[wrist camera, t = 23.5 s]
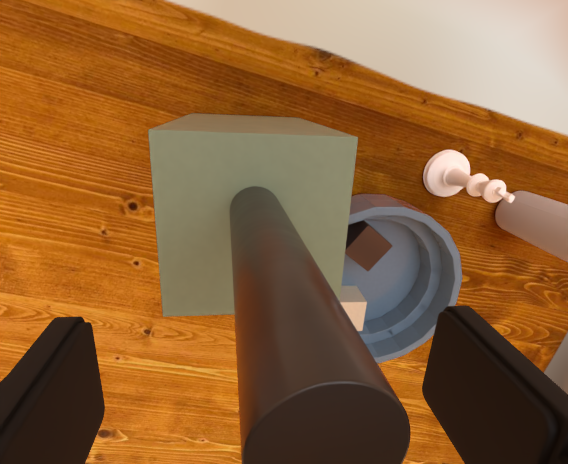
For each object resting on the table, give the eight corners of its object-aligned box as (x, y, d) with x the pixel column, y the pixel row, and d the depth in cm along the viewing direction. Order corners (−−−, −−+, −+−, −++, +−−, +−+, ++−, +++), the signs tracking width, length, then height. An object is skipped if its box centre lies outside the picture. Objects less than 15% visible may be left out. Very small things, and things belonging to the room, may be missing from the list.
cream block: (325, 285, 41) (333, 302, 37) (356, 285, 41) (367, 302, 38) (322, 313, 42) (329, 331, 39) (352, 312, 42) (362, 331, 39)
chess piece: (444, 140, 37) (514, 154, 28) (476, 166, 39) (552, 189, 29) (413, 179, 38) (470, 206, 29) (445, 204, 40) (509, 237, 30)
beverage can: (531, 224, 42) (638, 271, 31) (491, 234, 42) (585, 284, 31) (533, 185, 40) (647, 218, 29) (492, 194, 40) (591, 232, 29)
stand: (191, 113, 33) (147, 129, 17) (299, 117, 35) (358, 137, 18) (195, 216, 37) (162, 316, 20) (293, 217, 38) (338, 311, 21)
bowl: (287, 191, 37) (295, 206, 32) (447, 193, 39) (479, 208, 34) (279, 336, 43) (285, 368, 38) (419, 330, 45) (442, 360, 40)
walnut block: (356, 213, 38) (368, 224, 35) (379, 233, 39) (393, 246, 36) (333, 239, 39) (343, 252, 36) (357, 257, 40) (368, 272, 37)
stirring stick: (234, 181, 18) (261, 375, 5) (285, 191, 18) (434, 388, 5) (225, 231, 19) (227, 516, 6) (274, 238, 19) (384, 515, 6)
